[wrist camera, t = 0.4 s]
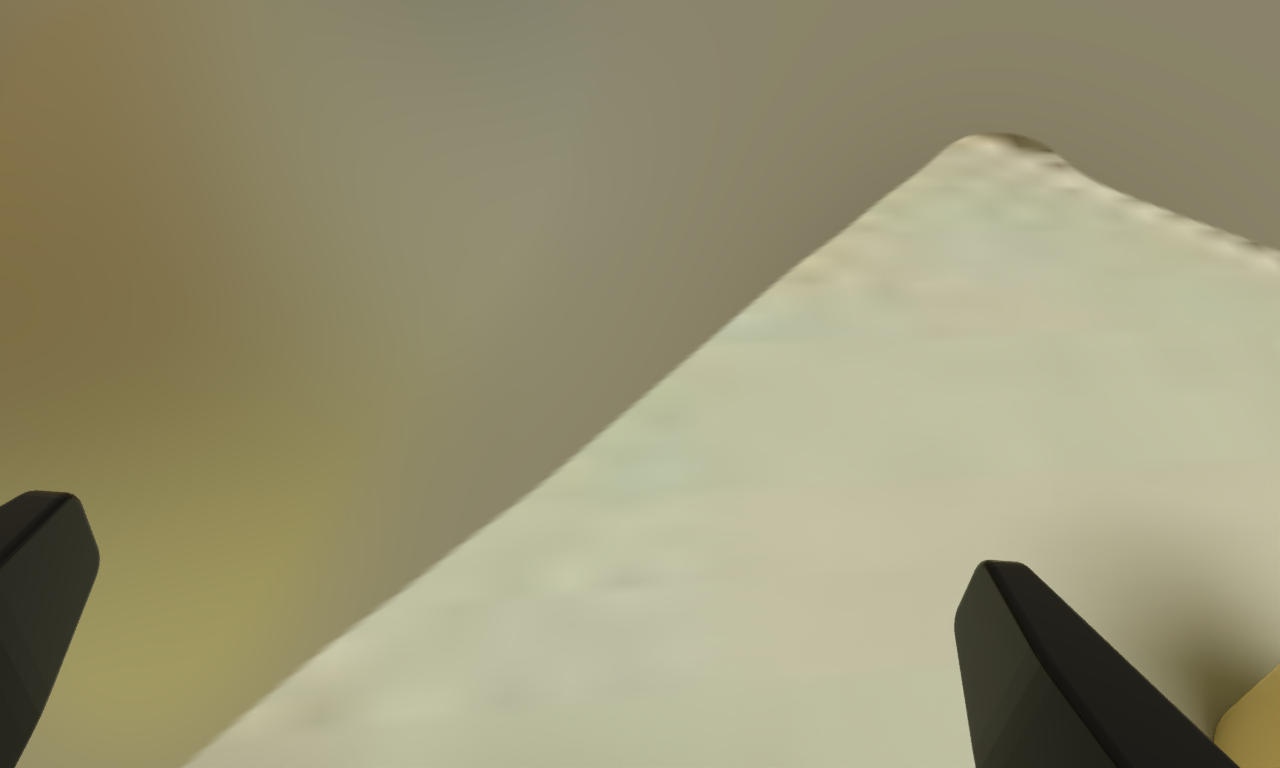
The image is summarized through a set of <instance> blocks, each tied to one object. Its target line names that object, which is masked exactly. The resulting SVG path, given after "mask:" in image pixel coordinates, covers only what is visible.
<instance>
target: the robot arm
mask: <svg viewBox="0 0 1280 768" xmlns="http://www.w3.org/2000/svg"><path fill="white" fill-rule="evenodd" d="M99 562H100V556H99V549H98V546H97V544H96V541H95V538H94V535H93V533H92V530H91V527H90V525H89V522H88V519H87V517H86V514H85V511H84V508H83V506H82V504H81V501H80V500H79V499H78V498H77V497H76V496H75V495H74V494H70V493H66V492H52V491H38V490H36V491H29V492H26V493H23V494H21V495H19V496H17V497H16V498H14V499H12V500H10V501H9V502H7V503H5V504H4V505H2V506H0V768H15V766H16V764H17V762H18V760H19V758H20V757H21V755H22V753H23V751H24V749H25V747H26V745H27V743H28V741H29V739H30V737H31V735H32V733H33V731H34V729H35V727H36V725H37V723H38V721H39V719H40V717H41V715H42V712H43V710H44V708H45V705H46V703H47V701H48V698H49V696H50V694H51V691H52V688H53V686H54V684H55V681H56V678H57V676H58V673H59V671H60V668H61V666H62V663H63V660H64V658H65V656H66V653H67V650H68V648H69V645H70V643H71V640H72V637H73V635H74V633H75V630H76V627H77V625H78V622H79V620H80V617H81V615H82V612H83V610H84V607H85V604H86V602H87V599H88V597H89V594H90V592H91V589H92V587H93V584H94V582H95V579H96V576H97V573H98V569H99ZM954 632H955V639H956V646H957V652H958V659H959V665H960V672H961V678H962V685H963V691H964V698H965V704H966V711H967V717H968V724H969V730H970V737H971V743H972V750H973V755H974V761H975V766H976V768H1240V767H1239V766H1238V765H1237V764H1236V763H1235V762H1234V761H1233V760H1232V759H1231V758H1230V757H1229V756H1228V755H1227V754H1226V753H1224V752H1223V751H1222V750H1221V749H1220V748H1219V747H1218V746H1217V745H1216V744H1215V743H1214V742H1213V741H1212V740H1211V739H1210V738H1209V737H1208V736H1206V735H1205V734H1204V733H1203V732H1202V731H1201V730H1200V729H1199V728H1198V727H1197V726H1196V725H1195V724H1194V723H1193V722H1192V721H1191V720H1190V719H1188V718H1187V717H1186V716H1185V715H1184V714H1183V713H1182V712H1181V711H1180V710H1179V709H1178V708H1177V707H1176V706H1175V705H1174V704H1173V703H1172V702H1171V701H1169V700H1168V699H1167V698H1166V697H1165V696H1164V695H1163V694H1162V693H1161V692H1160V691H1159V690H1158V689H1157V688H1156V687H1155V686H1154V685H1153V684H1151V683H1150V682H1149V681H1148V680H1147V679H1146V678H1145V677H1144V676H1143V675H1142V674H1141V673H1140V672H1139V671H1138V670H1137V669H1136V668H1135V667H1133V666H1132V665H1131V664H1130V663H1129V662H1128V661H1127V660H1126V659H1125V658H1124V657H1123V656H1122V655H1121V654H1120V653H1119V652H1118V651H1117V650H1116V649H1114V648H1113V647H1112V646H1111V645H1110V644H1109V643H1108V642H1107V641H1106V640H1105V639H1104V638H1103V637H1102V636H1101V635H1100V634H1099V633H1098V632H1096V631H1095V630H1094V629H1093V628H1092V627H1091V626H1090V625H1089V624H1088V623H1087V622H1086V621H1085V620H1084V619H1083V618H1082V617H1081V616H1080V615H1078V614H1077V613H1076V612H1075V611H1074V610H1073V609H1072V608H1071V607H1070V606H1069V605H1068V604H1067V603H1066V602H1065V601H1064V600H1063V599H1062V598H1061V597H1059V596H1058V595H1057V594H1056V593H1055V592H1054V591H1053V590H1052V589H1051V588H1050V587H1049V586H1048V585H1047V584H1046V583H1045V582H1044V581H1043V580H1041V579H1040V578H1039V577H1038V576H1037V575H1036V574H1035V573H1034V572H1033V571H1032V570H1031V569H1030V568H1028V567H1027V566H1026V565H1024V564H1022V563H1019V562H1012V561H999V560H985V561H982V562H981V563H980V564H979V565H978V566H977V568H976V569H975V571H974V573H973V576H972V578H971V580H970V582H969V584H968V587H967V589H966V591H965V593H964V595H963V598H962V600H961V602H960V604H959V606H958V609H957V612H956V616H955V623H954Z"/></svg>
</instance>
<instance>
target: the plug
mask: <svg viewBox="0 0 1280 768" xmlns="http://www.w3.org/2000/svg"><path fill="white" fill-rule="evenodd" d="M1214 743H1215V744H1216V745H1217V746H1218V747H1219V748H1220V749H1221V750H1222V751H1223V752H1224V753H1226V754H1227V755H1228V756H1229V757H1230V758H1231V759H1232V760H1233V761H1234V762H1235V763H1236V764H1237V765H1238V766H1239V767H1240V768H1280V664H1279V665H1278V666H1276V667H1275V668H1274V669H1273V670H1272V671H1271V672H1270V673H1269V674H1268V675H1266V676H1265V677H1264V678H1263V679H1262V680H1261V681H1260V682H1259V683H1258V684H1256V685H1255V686H1254V687H1253V688H1252V689H1251V690H1250V691H1249V692H1248V693H1247V694H1245V695H1244V696H1243V697H1242V698H1241V699H1240V700H1239V701H1238V702H1237V703H1235V704H1234V705H1233V706H1232V707H1231V708H1230V709H1229V710H1228V711H1227V712H1226V713H1225V714H1224V715H1223V717H1222V718H1221V720H1220V721H1219V723H1218V726H1217V728H1216V731H1215V736H1214Z"/></svg>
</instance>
